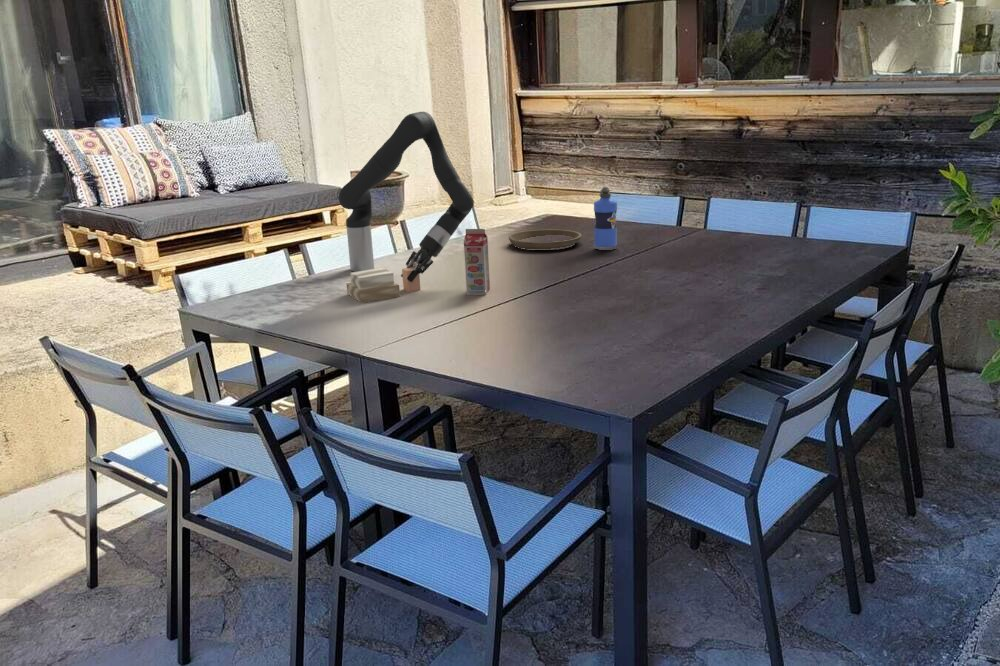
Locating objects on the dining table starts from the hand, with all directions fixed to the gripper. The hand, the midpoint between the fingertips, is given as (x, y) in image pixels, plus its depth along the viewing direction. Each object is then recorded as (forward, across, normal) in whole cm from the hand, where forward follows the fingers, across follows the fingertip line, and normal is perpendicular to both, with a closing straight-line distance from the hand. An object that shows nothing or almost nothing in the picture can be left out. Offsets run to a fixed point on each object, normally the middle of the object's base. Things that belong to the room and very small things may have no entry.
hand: (406, 279), depth 306 cm
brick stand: (+11, -1, -6) cm, 13 cm away
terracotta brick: (+2, 0, +4) cm, 5 cm away
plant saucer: (-52, -36, +59) cm, 87 cm away
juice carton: (-10, +18, +16) cm, 26 cm away
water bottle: (-63, -13, +70) cm, 95 cm away
